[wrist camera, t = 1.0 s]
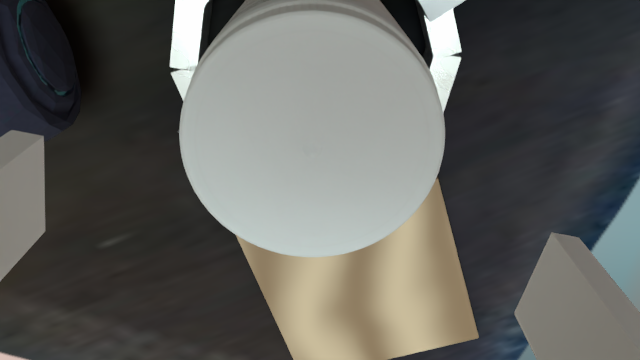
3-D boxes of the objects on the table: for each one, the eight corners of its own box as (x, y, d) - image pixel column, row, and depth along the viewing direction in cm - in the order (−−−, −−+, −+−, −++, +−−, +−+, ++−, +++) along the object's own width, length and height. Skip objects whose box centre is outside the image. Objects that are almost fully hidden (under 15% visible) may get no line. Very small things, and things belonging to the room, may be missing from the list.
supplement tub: (209, 87, 33) (130, 203, 19) (272, -68, 29) (226, -56, 16) (351, 151, 34) (367, 298, 21) (427, 14, 31) (506, 88, 17)
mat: (436, 174, 35) (438, 178, 34) (476, 332, 41) (478, 337, 40) (237, 230, 37) (235, 235, 36) (303, 373, 43) (302, 379, 42)
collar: (421, -145, 27) (436, -155, 23) (479, 129, 34) (497, 154, 30) (129, -36, 29) (102, -30, 26) (235, 200, 36) (225, 231, 32)
